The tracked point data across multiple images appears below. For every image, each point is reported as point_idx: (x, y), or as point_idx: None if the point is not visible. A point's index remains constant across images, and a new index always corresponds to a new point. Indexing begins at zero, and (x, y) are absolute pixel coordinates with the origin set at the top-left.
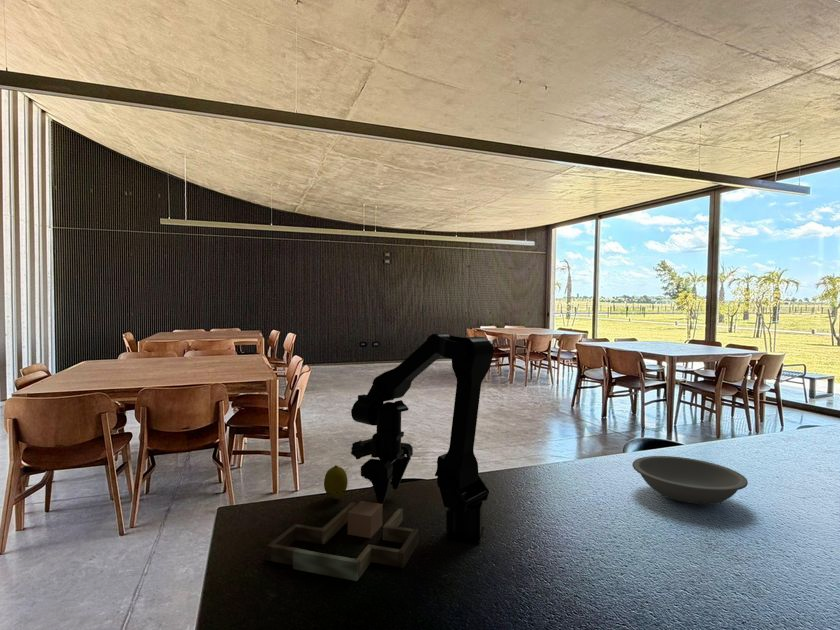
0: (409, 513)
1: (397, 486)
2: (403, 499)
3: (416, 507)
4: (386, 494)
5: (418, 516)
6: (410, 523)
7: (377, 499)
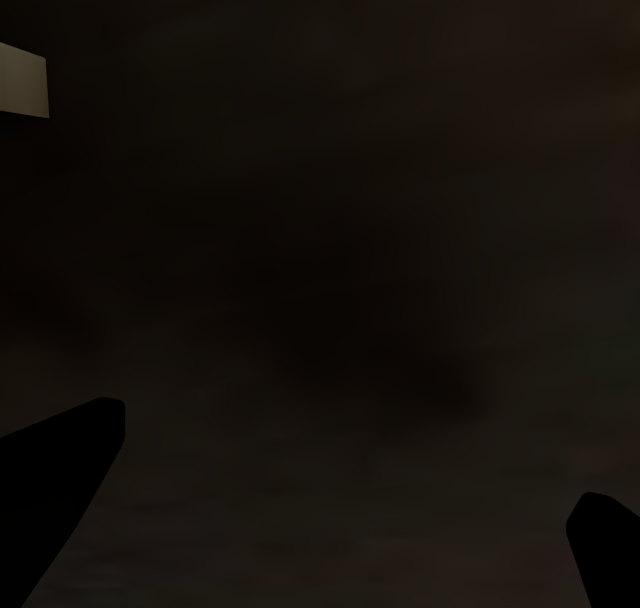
0: (206, 553)
1: (581, 568)
2: (472, 505)
3: (317, 587)
4: (22, 587)
5: (175, 598)
6: (60, 563)
7: (47, 422)
